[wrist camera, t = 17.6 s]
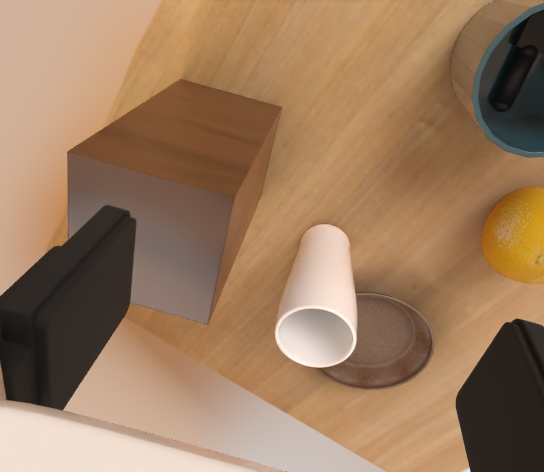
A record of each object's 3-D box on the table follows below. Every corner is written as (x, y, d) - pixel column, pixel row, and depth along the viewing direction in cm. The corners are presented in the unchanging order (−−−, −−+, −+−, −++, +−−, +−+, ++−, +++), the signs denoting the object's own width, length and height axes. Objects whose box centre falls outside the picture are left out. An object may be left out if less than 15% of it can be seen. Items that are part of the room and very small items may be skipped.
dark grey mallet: (528, 6, 36) (535, 8, 35) (558, 14, 36) (566, 16, 35) (482, 105, 40) (486, 110, 39) (508, 112, 40) (514, 117, 39)
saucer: (393, 389, 59) (395, 407, 57) (286, 348, 59) (283, 364, 56) (456, 308, 52) (461, 324, 49) (333, 260, 51) (332, 274, 49)
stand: (179, 78, 44) (66, 151, 26) (282, 107, 43) (234, 198, 26) (168, 173, 49) (67, 285, 32) (259, 199, 49) (208, 325, 32)
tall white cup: (281, 245, 51) (257, 339, 38) (320, 203, 48) (308, 290, 35) (329, 279, 52) (321, 381, 40) (370, 240, 49) (375, 337, 36)
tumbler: (484, -27, 36) (519, -25, 28) (615, 8, 36) (686, 20, 28) (430, 104, 41) (447, 135, 34) (543, 135, 41) (587, 174, 33)
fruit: (547, 257, 47) (580, 307, 40) (465, 248, 48) (483, 295, 41) (580, 177, 42) (624, 218, 36) (489, 169, 43) (514, 206, 36)
